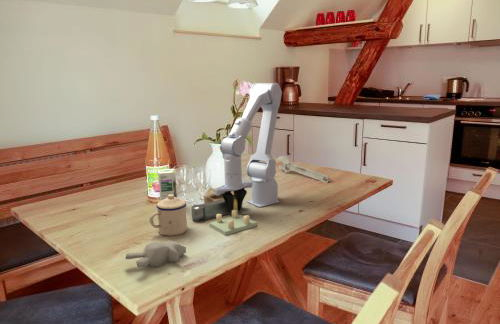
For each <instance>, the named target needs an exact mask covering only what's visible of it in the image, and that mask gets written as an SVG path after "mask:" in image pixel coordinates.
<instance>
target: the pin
mask: <svg viewBox="0 0 500 324" xmlns="http://www.w3.org/2000/svg"><path fill="white" fill-rule="evenodd" d="M233 210H237V215H239V212H238V198H237V197H234V201H233ZM230 217H232V213H230Z"/></svg>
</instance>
